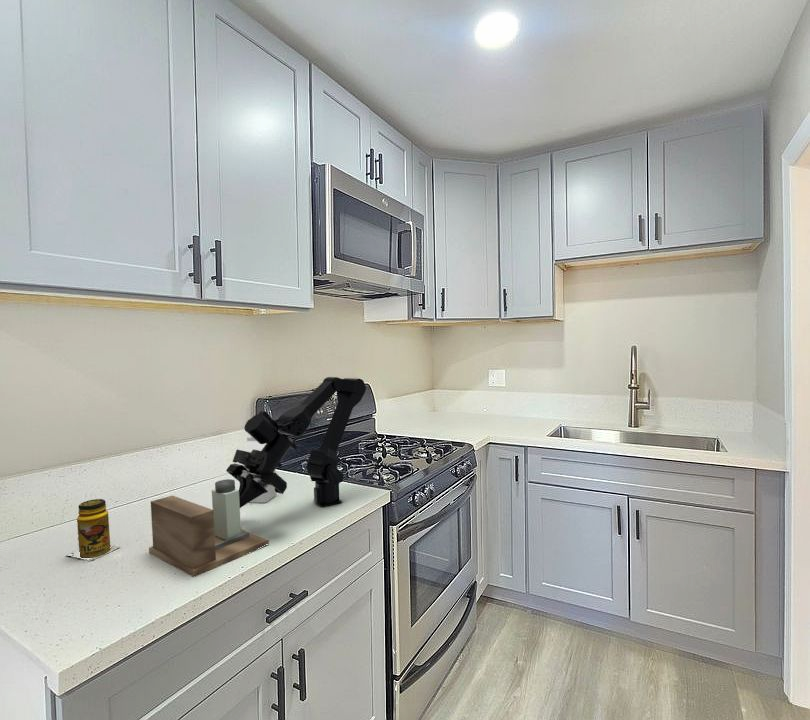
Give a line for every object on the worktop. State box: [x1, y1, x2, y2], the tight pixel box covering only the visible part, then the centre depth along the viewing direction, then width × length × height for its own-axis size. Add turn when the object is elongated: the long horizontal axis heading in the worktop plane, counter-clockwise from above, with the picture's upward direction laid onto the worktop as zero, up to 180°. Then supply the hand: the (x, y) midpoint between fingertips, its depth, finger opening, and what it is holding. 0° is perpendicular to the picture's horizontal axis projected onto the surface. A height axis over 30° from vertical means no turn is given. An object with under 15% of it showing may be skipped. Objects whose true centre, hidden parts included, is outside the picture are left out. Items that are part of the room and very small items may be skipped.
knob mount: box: [148, 494, 270, 577], centre depth 109 cm, size 18×20×12 cm
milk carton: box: [241, 436, 278, 504], centre depth 144 cm, size 7×7×19 cm
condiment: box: [70, 498, 120, 562], centre depth 110 cm, size 7×8×12 cm
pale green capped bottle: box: [211, 478, 242, 540], centre depth 113 cm, size 4×6×13 cm
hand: (236, 508), depth 115 cm, fingers closed
